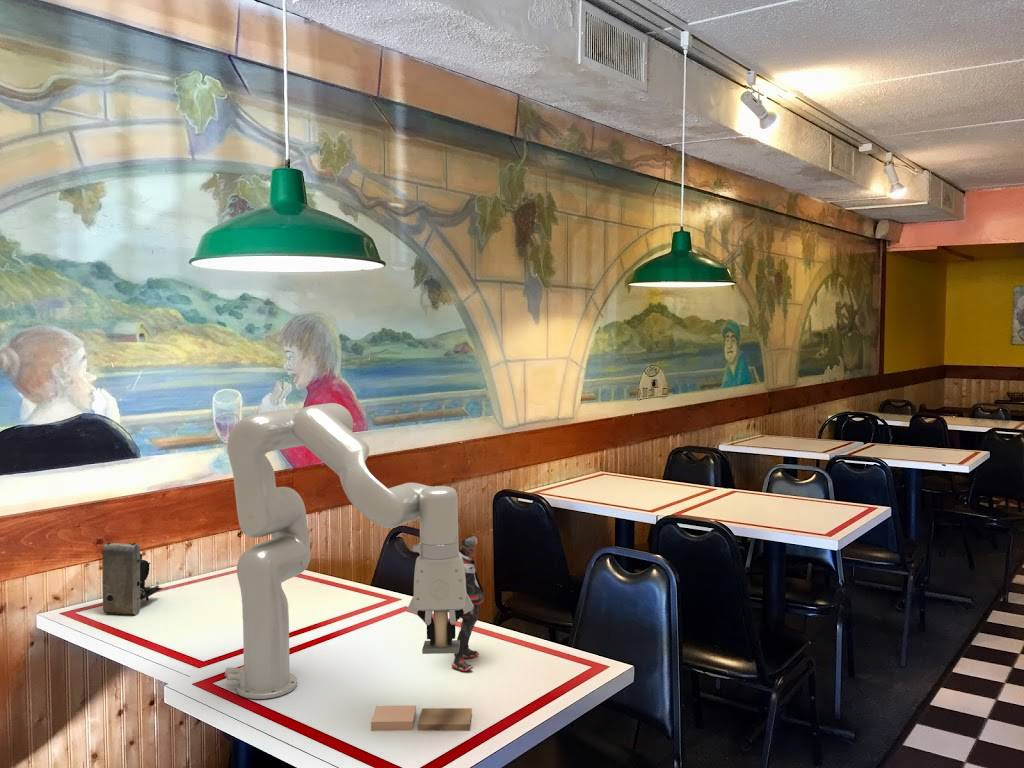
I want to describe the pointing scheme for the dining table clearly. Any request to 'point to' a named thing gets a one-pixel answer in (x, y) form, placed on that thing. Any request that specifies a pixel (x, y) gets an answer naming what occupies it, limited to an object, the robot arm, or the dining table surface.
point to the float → (441, 637)
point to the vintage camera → (124, 579)
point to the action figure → (476, 597)
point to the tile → (393, 718)
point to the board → (445, 719)
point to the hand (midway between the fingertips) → (441, 641)
